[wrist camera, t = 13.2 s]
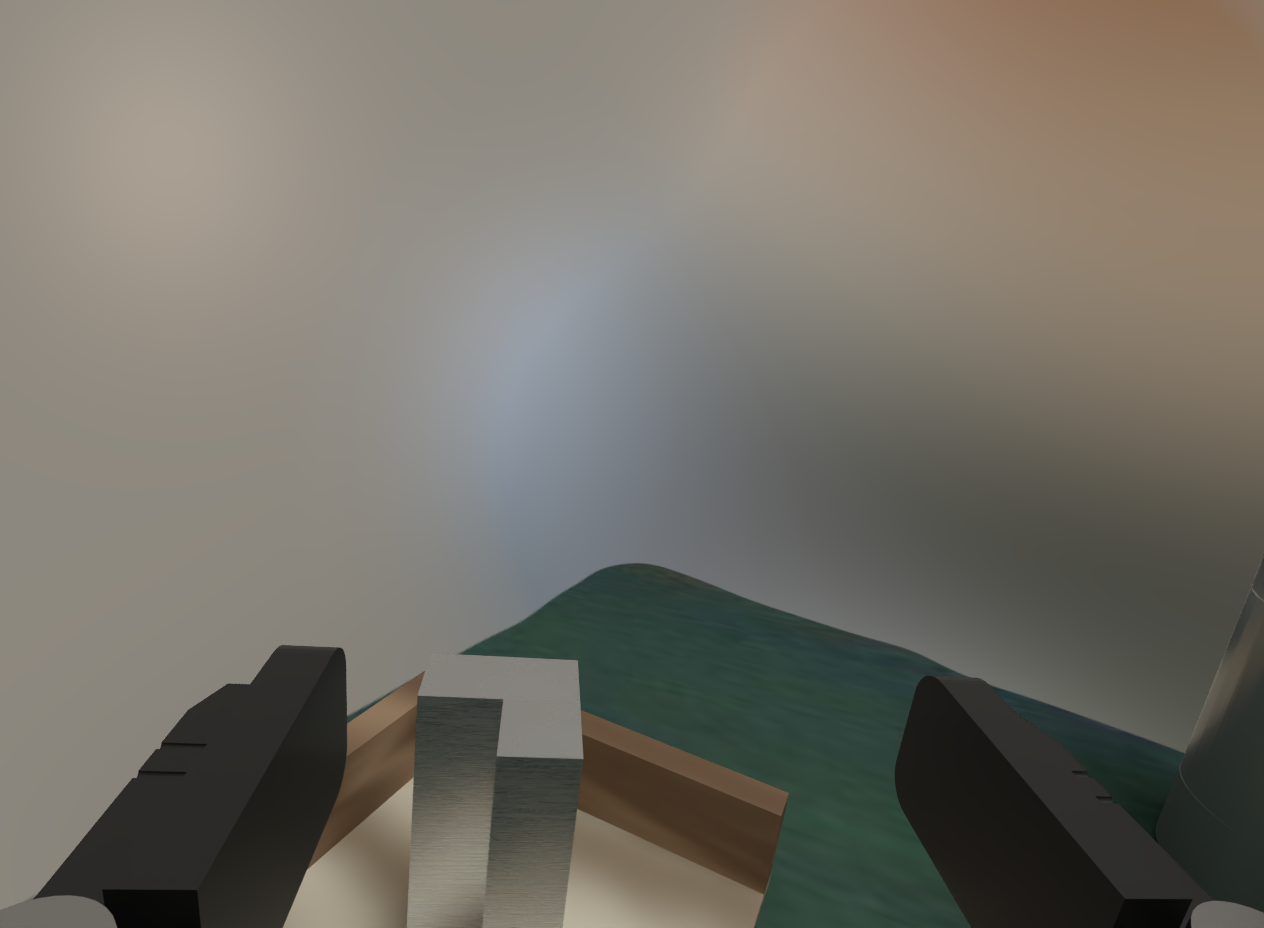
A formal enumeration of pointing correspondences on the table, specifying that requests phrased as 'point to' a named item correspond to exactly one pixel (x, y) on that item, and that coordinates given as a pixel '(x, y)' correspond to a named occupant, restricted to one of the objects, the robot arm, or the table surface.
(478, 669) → the bracket
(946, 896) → the table surface
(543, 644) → the table surface
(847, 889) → the table surface
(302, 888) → the wooden tray
